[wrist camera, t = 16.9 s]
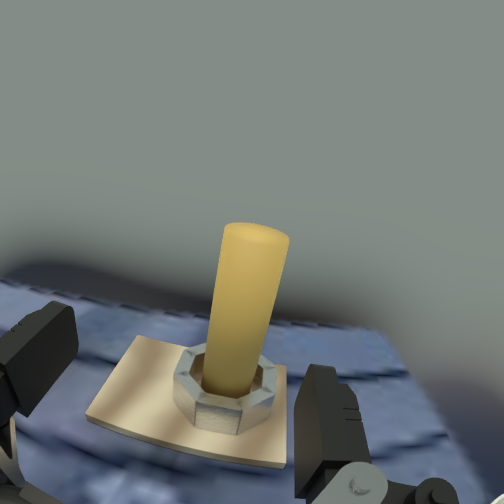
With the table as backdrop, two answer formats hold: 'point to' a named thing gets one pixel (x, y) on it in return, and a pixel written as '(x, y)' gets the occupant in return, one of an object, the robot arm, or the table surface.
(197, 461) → the table surface
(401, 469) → the table surface
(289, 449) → the table surface
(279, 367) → the birch board
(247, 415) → the steel ring collar
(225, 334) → the ochre steel pin
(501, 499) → the white cup
